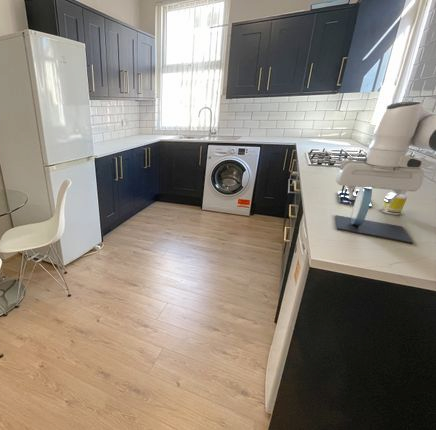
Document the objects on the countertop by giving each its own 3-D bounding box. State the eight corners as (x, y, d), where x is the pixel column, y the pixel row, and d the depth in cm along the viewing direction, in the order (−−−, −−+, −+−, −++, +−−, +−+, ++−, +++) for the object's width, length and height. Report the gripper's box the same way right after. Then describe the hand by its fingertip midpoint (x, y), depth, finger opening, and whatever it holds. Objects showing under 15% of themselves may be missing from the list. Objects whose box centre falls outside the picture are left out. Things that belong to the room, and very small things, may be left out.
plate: (356, 220, 100) (368, 184, 95) (360, 230, 89) (374, 191, 85) (349, 218, 101) (360, 183, 96) (352, 229, 90) (366, 190, 86)
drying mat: (401, 228, 94) (402, 226, 94) (411, 244, 83) (412, 242, 83) (335, 216, 103) (335, 215, 103) (336, 229, 93) (337, 228, 92)
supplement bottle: (404, 214, 105) (414, 189, 101) (392, 215, 104) (402, 190, 100) (388, 209, 110) (398, 185, 106) (377, 210, 109) (386, 186, 105)
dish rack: (365, 197, 124) (370, 184, 121) (370, 208, 111) (376, 193, 109) (337, 193, 129) (341, 181, 127) (339, 203, 117) (343, 189, 114)
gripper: (345, 158, 87) (333, 199, 92) (434, 162, 79) (414, 208, 84) (340, 154, 92) (328, 194, 97) (422, 159, 85) (404, 201, 90)
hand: (369, 201), depth 91 cm, fingers open, 8 cm apart
